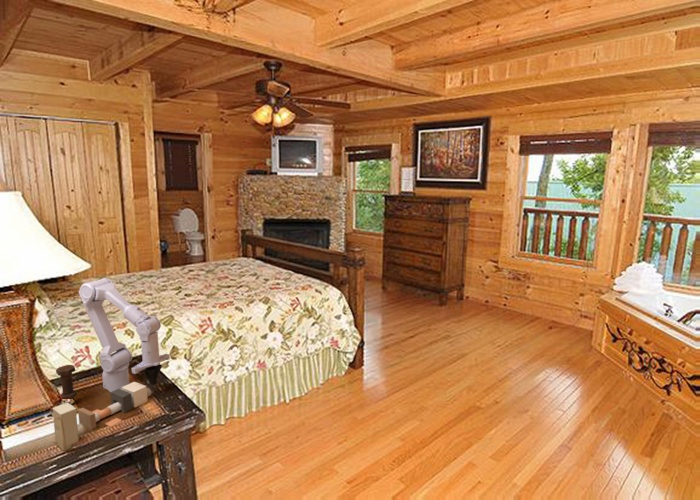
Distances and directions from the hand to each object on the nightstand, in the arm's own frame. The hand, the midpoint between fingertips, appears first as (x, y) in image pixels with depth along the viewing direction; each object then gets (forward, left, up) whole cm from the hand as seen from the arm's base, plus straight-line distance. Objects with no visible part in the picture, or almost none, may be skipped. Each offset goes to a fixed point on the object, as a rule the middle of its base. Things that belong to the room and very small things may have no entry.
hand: (152, 383), depth 155 cm
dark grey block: (0, -13, -4) cm, 13 cm away
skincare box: (+3, -32, -5) cm, 33 cm away
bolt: (-19, -20, -5) cm, 28 cm away
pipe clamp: (0, -14, -5) cm, 15 cm away
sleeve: (0, -8, -4) cm, 8 cm away
